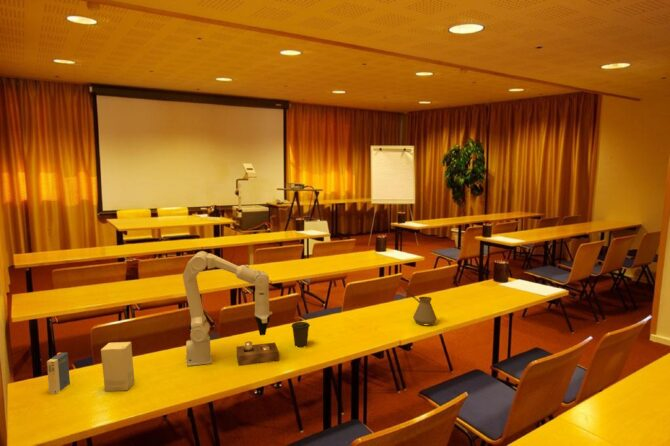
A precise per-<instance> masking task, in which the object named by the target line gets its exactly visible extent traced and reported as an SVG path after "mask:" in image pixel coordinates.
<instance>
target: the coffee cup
mask: <svg viewBox="0 0 670 446" xmlns="http://www.w3.org/2000/svg"><path fill="white" fill-rule="evenodd" d="M310 325H311V324H310V323H309V322H307V321H296V322H294V323H291V328H292V334H293V341H294V346H295V347H296V346H297V347H296V348H305V347H307V346H306V345H308V338H309V329H310ZM304 346H305V347H304Z"/></svg>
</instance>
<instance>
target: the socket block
mask: <svg viewBox="0 0 670 446" xmlns="http://www.w3.org/2000/svg"><path fill="white" fill-rule="evenodd" d="M264 346H268V347H270V350H262V347H264ZM236 360H237V364H238V367H239V366H247V365H249V366H250V365H255V364H256V365H257V363H258V364H266V363H272V362H273V361H274V362H279V361H280V351H279V348H278V346H277V344H276V342H268V343H267V342H266V343H260V344H259V343H257V344H252V352H245V345H240V346H239V345H238V346H236ZM265 362H266V363H265ZM274 362H273V363H274Z"/></svg>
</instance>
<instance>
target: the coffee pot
mask: <svg viewBox="0 0 670 446" xmlns="http://www.w3.org/2000/svg"><path fill="white" fill-rule="evenodd" d="M401 291H403V292H405V293H407V294H408V295H409V296H410V297H411V298H413V299H414V300H415V301H417V303H418V305H417V308H416V310H415V313H413V320H414V322H415V323H419V324H432V323H433V324H434V323H435V322H436V321H437V315H436V313H435V310H434V309H433V306H432V303H431V301H432V300H433V299H432V297H431V296H419V297H418V298H417V297H416V296H415V295H414V294H413V293H412V292H410V291H409V290H408V289H406V288H405V287H404V288H402V290H401ZM419 324H418V325H419ZM433 324H432V325H433Z"/></svg>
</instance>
